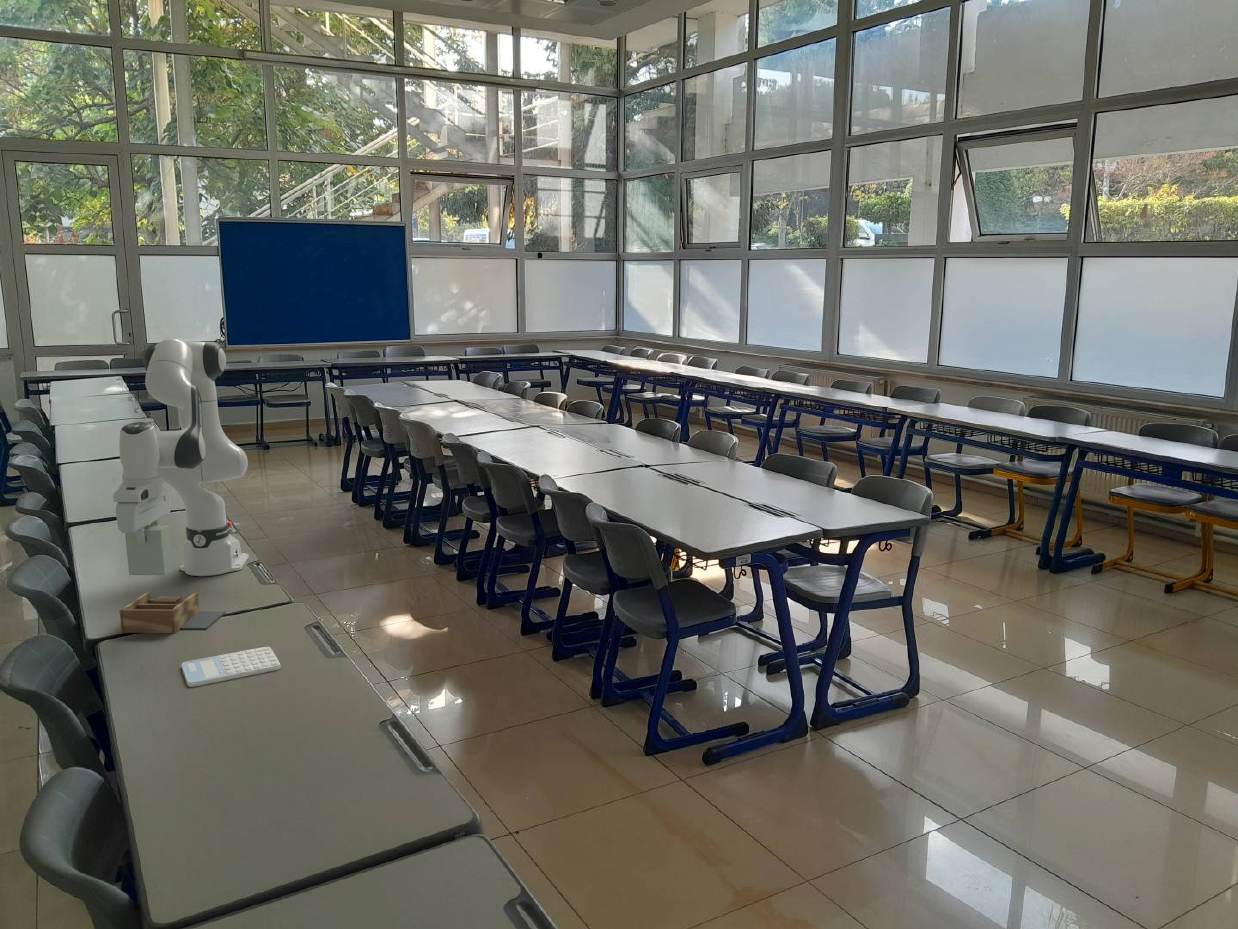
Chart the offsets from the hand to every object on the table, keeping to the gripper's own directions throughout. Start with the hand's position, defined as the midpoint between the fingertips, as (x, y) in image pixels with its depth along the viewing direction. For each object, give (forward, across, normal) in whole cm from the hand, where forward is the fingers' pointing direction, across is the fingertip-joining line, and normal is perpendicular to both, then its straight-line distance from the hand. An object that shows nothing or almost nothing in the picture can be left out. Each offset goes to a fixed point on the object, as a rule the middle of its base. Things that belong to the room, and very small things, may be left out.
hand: (148, 540), depth 233 cm
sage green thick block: (+9, 0, 0) cm, 9 cm away
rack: (+24, -2, 0) cm, 24 cm away
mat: (+24, -4, +10) cm, 26 cm away
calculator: (+24, +26, +30) cm, 46 cm away
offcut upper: (+21, -7, 0) cm, 22 cm away
